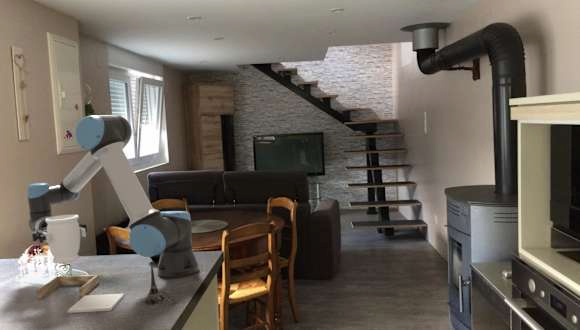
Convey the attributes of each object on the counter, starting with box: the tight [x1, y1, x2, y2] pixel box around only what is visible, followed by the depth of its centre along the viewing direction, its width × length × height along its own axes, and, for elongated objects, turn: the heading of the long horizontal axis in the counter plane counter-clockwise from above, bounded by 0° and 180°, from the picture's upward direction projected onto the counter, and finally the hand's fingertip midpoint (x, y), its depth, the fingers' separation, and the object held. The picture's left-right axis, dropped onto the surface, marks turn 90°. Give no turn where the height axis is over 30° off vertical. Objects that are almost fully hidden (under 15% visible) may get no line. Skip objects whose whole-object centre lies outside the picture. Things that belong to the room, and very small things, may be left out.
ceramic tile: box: [67, 293, 125, 314], centre depth 162 cm, size 13×13×1 cm
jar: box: [45, 214, 81, 264], centre depth 174 cm, size 11×10×15 cm
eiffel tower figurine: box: [135, 264, 179, 306], centre depth 161 cm, size 15×10×13 cm
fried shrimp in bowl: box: [149, 253, 161, 264], centre depth 212 cm, size 9×11×18 cm
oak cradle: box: [36, 274, 101, 300], centre depth 176 cm, size 15×15×3 cm
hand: (67, 236), depth 171 cm, fingers closed on jar, 10 cm apart
